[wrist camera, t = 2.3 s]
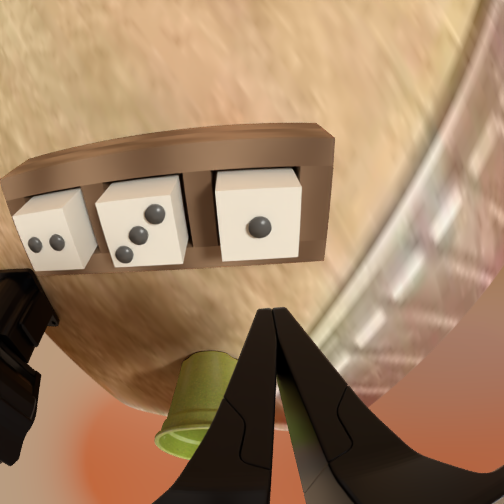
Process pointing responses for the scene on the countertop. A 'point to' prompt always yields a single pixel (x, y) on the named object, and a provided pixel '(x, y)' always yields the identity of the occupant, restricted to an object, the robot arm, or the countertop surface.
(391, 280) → the countertop surface
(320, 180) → the tile board
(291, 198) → the tile one dot
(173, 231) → the tile three dot
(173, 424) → the plant pot
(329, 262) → the countertop surface
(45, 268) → the tile two dot
